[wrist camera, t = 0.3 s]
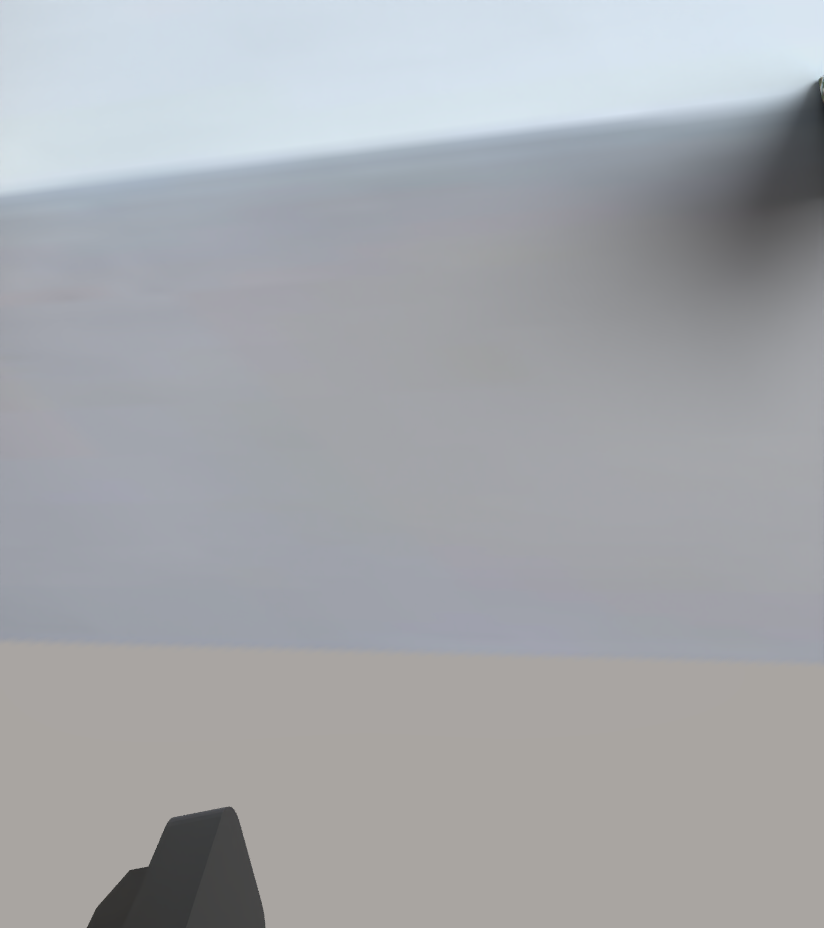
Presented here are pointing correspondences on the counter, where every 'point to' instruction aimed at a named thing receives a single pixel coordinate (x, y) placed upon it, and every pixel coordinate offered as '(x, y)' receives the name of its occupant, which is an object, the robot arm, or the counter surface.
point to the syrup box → (822, 87)
